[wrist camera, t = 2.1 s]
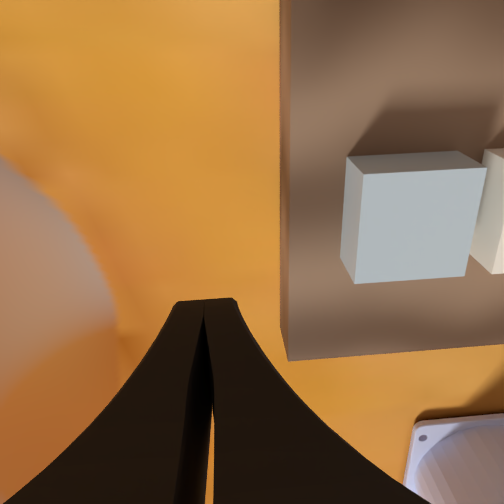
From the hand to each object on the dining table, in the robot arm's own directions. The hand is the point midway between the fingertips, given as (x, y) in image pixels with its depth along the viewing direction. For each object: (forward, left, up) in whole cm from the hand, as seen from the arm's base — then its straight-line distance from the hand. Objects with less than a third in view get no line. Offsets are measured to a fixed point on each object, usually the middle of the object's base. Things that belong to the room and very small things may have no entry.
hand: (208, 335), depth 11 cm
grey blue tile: (0, -7, -7) cm, 10 cm away
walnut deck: (0, -10, -9) cm, 13 cm away
